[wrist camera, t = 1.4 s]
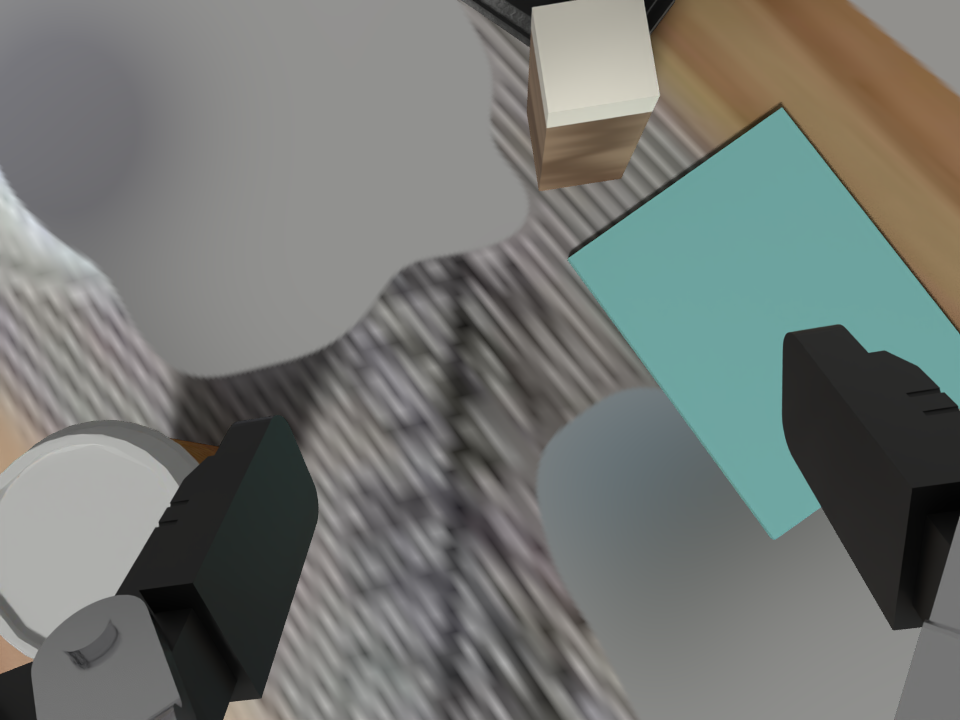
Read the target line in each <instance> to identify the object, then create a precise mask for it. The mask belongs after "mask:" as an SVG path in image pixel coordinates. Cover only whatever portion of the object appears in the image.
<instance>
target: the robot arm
mask: <svg viewBox="0 0 960 720" xmlns="http://www.w3.org/2000/svg"><path fill="white" fill-rule="evenodd" d="M782 424H783V430H784V435H785V439H786V443H787V446H788V449H789V451H790V453H791V455H792V457H793V459H794V461H795V463H796V464H797V466H798V468H799V469H800V471H801V473H802V475H803V476H804V478H805V480H806V481H807V483H808V485H809V487H810V488H811V490H812V492H813V494H814V495H815V497H816V499H817V500H818V502H819V504H820V506H821V507H822V509H823V511H824V512H825V514H826V516H827V518H828V519H829V521H830V523H831V524H832V526H833V528H834V530H835V531H836V533H837V535H838V537H839V538H840V540H841V542H842V543H843V545H844V547H845V549H846V550H847V552H848V554H849V556H850V557H851V559H852V561H853V562H854V564H855V566H856V568H857V569H858V571H859V573H860V574H861V576H862V578H863V580H864V581H865V583H866V585H867V586H868V588H869V590H870V592H871V593H872V595H873V597H874V598H875V600H876V602H877V604H878V605H879V607H880V609H881V611H882V612H883V614H884V616H885V617H886V619H887V621H888V622H889V624H890V626H891V628H892V630H901V629H910V628H917V627H922V629H921V632H920V635H919V638H918V641H917V645H916V648H915V651H914V655H913V658H912V661H911V665H910V668H909V672H908V675H907V678H906V681H905V685H904V688H903V692H902V695H901V698H900V701H899V705H898V708H897V711H896V715H895V718H894V720H960V411H959V409H958V405H957V404H956V403H955V402H954V401H953V400H952V399H951V398H950V397H949V396H948V395H947V394H946V393H945V392H942V393H941V391H940V387H939V386H938V385H937V384H936V383H935V382H934V381H933V380H932V379H931V378H930V377H929V376H928V375H927V374H926V373H925V372H924V371H923V370H922V369H921V368H919V367H918V366H917V365H915V364H912V363H910V362H908V361H906V360H904V359H902V358H900V357H898V356H896V355H894V354H891V353H889V352H887V351H885V350H883V351H877V352H870V353H868V352H867V351H866V349H865V348H864V347H863V346H862V345H861V344H860V343H859V342H858V341H857V340H856V339H855V338H854V336H853V335H852V334H851V333H850V332H849V331H848V330H847V329H846V328H845V327H844V326H843V325H841V324H836V325H830V326H824V327H817V328H811V329H805V330H799V331H793V332H788V333H787V334H786V335H785V337H784V340H783V359H782ZM317 520H318V498H317V492H316V488H315V485H314V483H313V480H312V478H311V476H310V473H309V471H308V469H307V466H306V464H305V462H304V459H303V457H302V454H301V452H300V450H299V447H298V445H297V443H296V440H295V438H294V436H293V433H292V431H291V429H290V426H289V424H288V423H287V421H286V420H285V419H284V418H283V417H282V416H280V415H275V416H269V417H263V418H257V419H251V420H245V421H239V422H235V423H233V424H232V425H231V427H230V428H229V430H228V432H227V434H226V435H225V437H224V439H223V441H222V443H221V444H220V446H219V448H218V450H217V452H216V453H215V455H214V456H208V457H207V458H206V459H205V460H204V461H202V462H201V463H200V464H199V465H198V466H197V467H196V468H195V469H194V470H193V471H192V472H191V473H190V474H189V475H188V476H187V477H185V478H184V480H183V481H182V483H181V485H180V486H179V488H178V490H177V491H176V493H175V495H174V497H173V498H172V500H171V502H170V507H167V508H166V510H165V512H164V513H163V515H162V517H161V518H160V520H159V522H158V523H159V527H155V528H154V530H153V532H152V534H151V535H150V537H149V539H148V540H147V542H146V544H145V545H144V547H143V549H142V550H141V552H140V554H139V555H138V557H137V559H136V560H135V562H134V564H133V566H132V567H131V569H130V571H129V572H128V574H127V576H126V577H125V579H124V581H123V582H122V584H121V586H120V587H119V589H118V591H117V592H116V594H115V596H111V597H108V598H104V599H101V600H99V601H96V602H94V603H92V604H90V605H88V606H86V607H84V608H82V609H80V610H79V611H77V612H76V613H74V614H73V615H71V616H70V617H69V618H67V619H66V620H65V621H64V622H62V623H61V624H60V625H59V626H58V627H57V628H56V629H55V630H54V631H53V632H52V633H51V634H50V635H49V636H48V637H47V639H46V640H45V641H44V642H43V644H42V645H41V647H40V648H39V650H38V652H37V654H36V656H35V658H34V660H33V662H30V663H28V664H25V665H23V666H20V667H17V668H15V669H12V670H10V671H7V672H5V673H2V674H0V720H223V719H224V716H225V713H226V710H227V707H228V705H229V702H233V701H242V700H251V699H260V698H262V695H263V691H264V688H265V685H266V682H267V679H268V676H269V672H270V669H271V666H272V663H273V660H274V657H275V654H276V650H277V647H278V644H279V641H280V638H281V635H282V631H283V628H284V625H285V622H286V619H287V616H288V612H289V609H290V606H291V603H292V600H293V597H294V594H295V590H296V587H297V584H298V581H299V578H300V575H301V571H302V568H303V565H304V562H305V559H306V556H307V552H308V549H309V546H310V543H311V540H312V537H313V533H314V530H315V527H316V524H317Z"/></svg>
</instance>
